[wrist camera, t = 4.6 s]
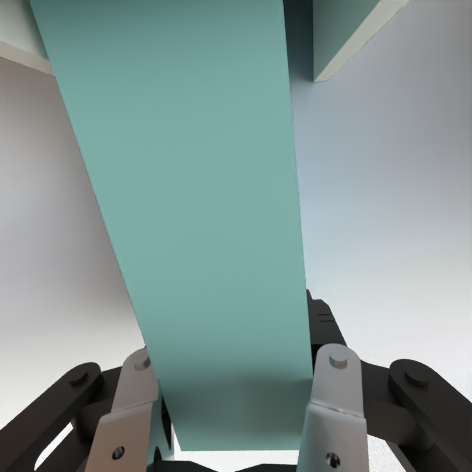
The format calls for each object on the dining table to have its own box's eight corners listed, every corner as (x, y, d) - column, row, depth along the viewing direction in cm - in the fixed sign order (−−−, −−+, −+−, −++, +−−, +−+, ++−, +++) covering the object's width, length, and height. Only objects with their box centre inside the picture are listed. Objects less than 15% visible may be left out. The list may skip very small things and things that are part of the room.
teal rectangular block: (145, 35, 10) (-15, -131, 4) (260, 7, 9) (263, -235, 3) (212, 329, 14) (181, 450, 8) (293, 323, 13) (319, 450, 8)
